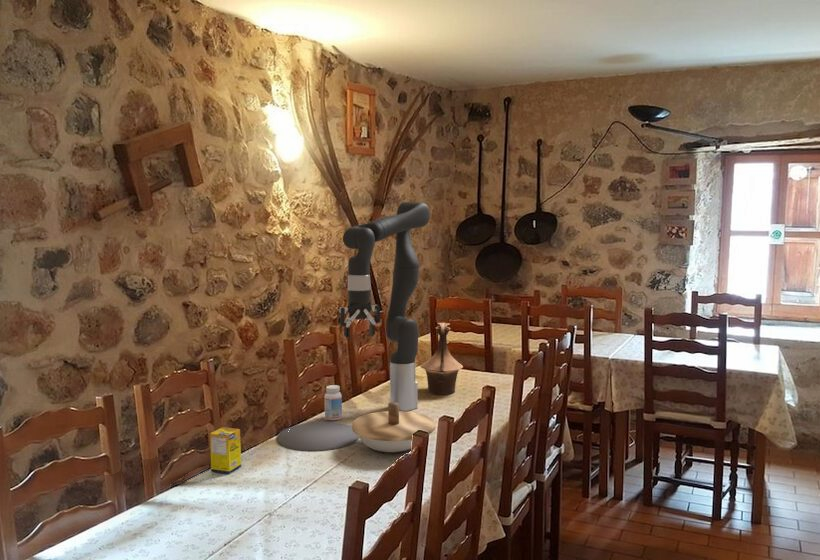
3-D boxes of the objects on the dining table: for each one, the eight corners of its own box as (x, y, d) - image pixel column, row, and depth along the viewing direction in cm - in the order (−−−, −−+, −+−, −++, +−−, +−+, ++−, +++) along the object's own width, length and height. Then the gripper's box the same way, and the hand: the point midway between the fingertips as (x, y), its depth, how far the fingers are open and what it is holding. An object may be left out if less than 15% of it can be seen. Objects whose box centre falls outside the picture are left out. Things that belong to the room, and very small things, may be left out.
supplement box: (241, 466, 185) (240, 428, 184) (229, 474, 179) (228, 435, 178) (223, 464, 187) (222, 426, 186) (210, 471, 181) (209, 433, 180)
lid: (412, 410, 216) (412, 389, 216) (450, 433, 194) (450, 409, 193) (340, 421, 205) (339, 398, 204) (372, 446, 183) (371, 421, 182)
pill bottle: (343, 415, 232) (343, 384, 231) (340, 421, 226) (339, 389, 225) (326, 415, 233) (326, 384, 232) (322, 420, 227) (322, 388, 226)
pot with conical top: (464, 397, 255) (464, 326, 253) (420, 397, 256) (420, 326, 253) (461, 386, 273) (461, 319, 270) (420, 385, 273) (420, 319, 270)
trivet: (341, 419, 228) (341, 418, 228) (372, 442, 205) (372, 440, 205) (267, 431, 216) (267, 429, 216) (291, 456, 193) (291, 454, 193)
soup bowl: (444, 442, 205) (444, 421, 205) (410, 468, 184) (410, 445, 183) (376, 431, 216) (376, 411, 215) (336, 454, 195) (336, 432, 194)
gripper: (374, 286, 223) (374, 333, 225) (334, 288, 217) (335, 337, 218) (383, 288, 217) (384, 337, 218) (343, 290, 210) (343, 341, 212)
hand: (359, 337), depth 218 cm, fingers open, 8 cm apart
